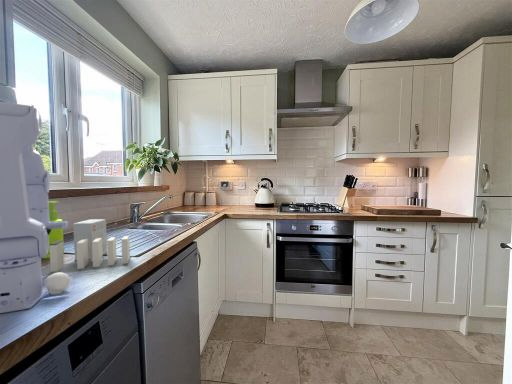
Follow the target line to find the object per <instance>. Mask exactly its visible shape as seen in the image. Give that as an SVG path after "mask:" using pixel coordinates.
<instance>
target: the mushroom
mask: <svg viewBox="0 0 512 384" xmlns="http://www.w3.org/2000/svg"><path fill="white" fill-rule="evenodd" d="M70 282H71V278H70V276H69V275H68V273H62V272H57V273H54V274H51V275H47V277H46V278H45V279H44V281H43V283H42V286H44V288H48V292H47V293H49V294H50V295H54V296H55V295H59V294H62V293H63V292H64V290H66V289H67V288H68V287H69V285H70Z"/></svg>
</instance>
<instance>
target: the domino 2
mask: <svg viewBox="0 0 512 384" xmlns="http://www.w3.org/2000/svg"><path fill="white" fill-rule="evenodd" d="M76 246H77V260H76V263H77V269H82V268H85V266H86V265H87V264H88V261H89V260H88V239H83V240H80V241H79V242H78V243H76Z"/></svg>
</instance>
